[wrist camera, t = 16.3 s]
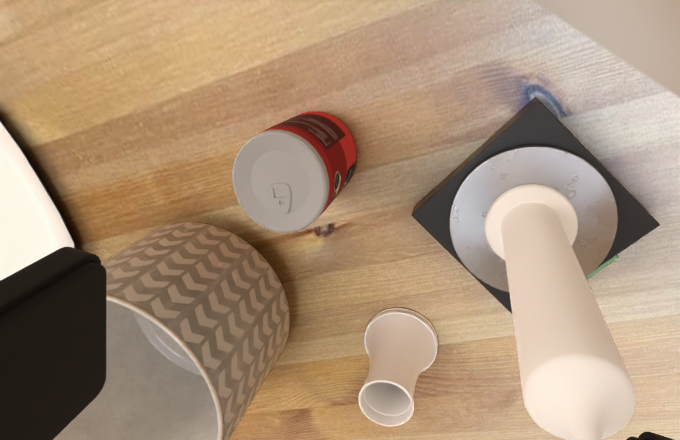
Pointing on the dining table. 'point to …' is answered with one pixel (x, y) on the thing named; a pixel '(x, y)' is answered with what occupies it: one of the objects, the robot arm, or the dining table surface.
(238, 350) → the planter
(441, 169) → the dining table surface
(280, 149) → the canned food
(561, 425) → the candle
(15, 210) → the plate
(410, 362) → the vase
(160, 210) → the dining table surface
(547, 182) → the scale
